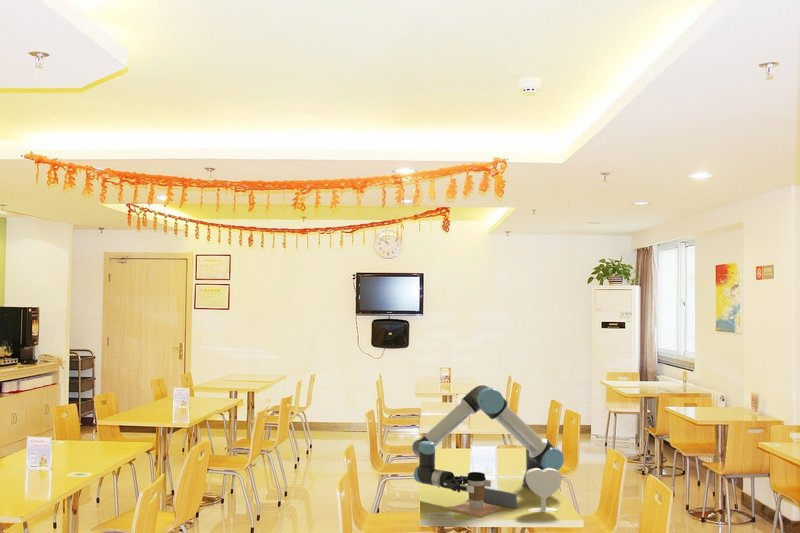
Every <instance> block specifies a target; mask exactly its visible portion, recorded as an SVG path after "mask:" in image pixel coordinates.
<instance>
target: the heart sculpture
mask: <svg viewBox="0 0 800 533" xmlns="http://www.w3.org/2000/svg"><path fill="white" fill-rule="evenodd" d="M525 472H526V471H525ZM524 475H525V474H524ZM525 479H526V483H527V485H528V486H529V487H528V488H529V489H530V490H531V492H533V493H534V494H535V495H537V496H538V497H540V500H541V501H540V506H541V507H534V508H528V511H529V512H532V513H547V512H550V513H554V512H553V511H557V508H556V509H555V508H554V507H547V498H549V497H550V496H552V495H554V494H555V493H556V492H557V491H558V490H559V488H560V487H561V484H562V474H561V472H559V470H558V471H557V470H555V469H552V468H545V469H544V470H541V469H539V468H533V469H530V470H528V471H527V472H526V475H525Z"/></svg>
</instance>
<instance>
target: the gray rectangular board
mask: <svg viewBox="0 0 800 533" xmlns="http://www.w3.org/2000/svg"><path fill="white" fill-rule="evenodd" d="M517 496H518V494H517V493H516V492H515V493H514V492H509V491H504V490H499V489H494V488H491V487H485V491H484V501H483V503H488V504H492V505H497V506H503V507H508V508H512V509H518V497H517Z"/></svg>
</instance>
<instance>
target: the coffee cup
mask: <svg viewBox="0 0 800 533" xmlns="http://www.w3.org/2000/svg"><path fill="white" fill-rule="evenodd" d="M466 476H467V480H468V484H467V485H469V486H474V493H469V492H467V493H468V501H469V504H470V508H472V509H482V508H483V503H484V491H485V488H486V486H485V480H487V479H486V478H487V477H486V474H485V473H484V472H480V471H471V472H467V475H466Z"/></svg>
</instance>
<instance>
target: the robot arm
mask: <svg viewBox="0 0 800 533" xmlns="http://www.w3.org/2000/svg"><path fill="white" fill-rule="evenodd" d="M480 410H481V411H482V412H483V413H484V414H485V415H486V416H487V417H488V418H489V419H491V420H495V421H496V422H498V424H500V425H501V426H502V427H503V428H504V429H505V430H507V431H508V433H510V435H512V436H513V438H514V439H515V440H517V442H518V443H519V444H521V445H522V447H524V448H525V461H526V462H525V466H526V468H525V472H524V475H523V478H522V485H523V486H524V487H526V488H529V486H528V485H527V483H526V479H525V475H526V472H527V471H528V470H530V469H533V468H539V469H541V470H544V469H545V468H552V469H555V470H557V471H558V472H559V471H560V470H561V469H562V467H563V466H564V463H565V461H564V458H565V457H564V454H563V452H562V451H561V450H560V449H559V448H557V447H555V446H554V445H553V444H552V443H551V442H550V440H549V439H547V438H541V437H540V436H539V435H538V434H537V433H536V432H535V430H533V429H532V428H531V427H530V426H529V425H528V424H527V423H526V422H525V421H524V420H523V419H522V418H521V417H520V416H518V415H517V414H516V413H515V411H513V410H512V409H511V408H510V407H509V403H508V401H507V400H506V399H505V398H504V396H503V394H502V393H501V392H500V391H499V390H498V389H497V388H495V387H491V386H487V385H477V386H475V387H474V388H472V389H471V390H470V391H469V392H468V393H467V394H465V395H464V396H463V398H461V401H460V403H459V404H457V406H456V407H455V408H453V409H452V410H451V411H450V412H449V413H448V414H447V415H445V417H443V418H442V419H441V420H440V421H439V422H438V423H437V424H436V425H434V426H433V427H432V428H431V429H430V430H428V432H427V433H426V434H424V435H423V436H422V437H421V438H420V439H416V440H415V441H413V443H412V446H411V449H412V452H413V453H414V455H415V456H417V457H418V461H419V462H418V466H416V467H415V469H414V472H413V478H414V480H415V481H416V482H417V483H421V484H422V485H430V486H434V487H437V488H439V489H440V488H442V489H448V490H451V491H453V492H457V493H461V492H465V493H468V492H469V493H474V486H469V485H468V480H467V476H468V475H459V476H458V475H454V473H453V472H452V471H447V470H443V469H436V447H437V446H438V445H439V444H440V443H441V442H442V441H444V440H445V439H446V438H447V437H448V436H449V435H450V434H451V433H452V432H453V431H454V430H456V429H457V428H458V427H459V426H460V425H461V424H462V423H463V422H465V421H466V419H468V418H469V417H470V416H471V415H475V414H476V413H478V412H479V411H480ZM485 487H486V488H491V487H492V481H491V480H489V479H486V480H485ZM469 493H468V494H469Z"/></svg>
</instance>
